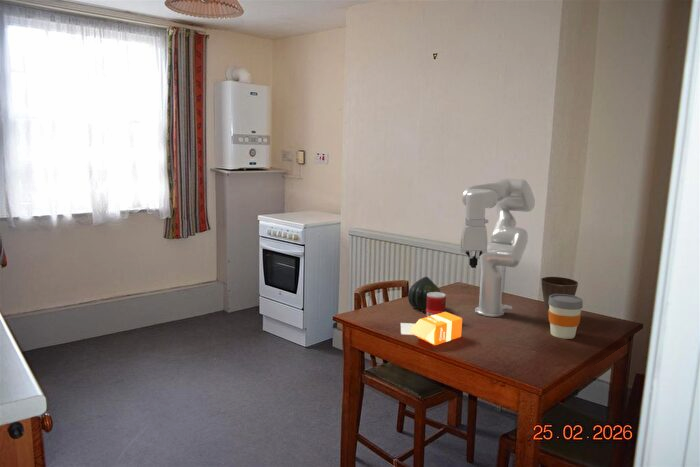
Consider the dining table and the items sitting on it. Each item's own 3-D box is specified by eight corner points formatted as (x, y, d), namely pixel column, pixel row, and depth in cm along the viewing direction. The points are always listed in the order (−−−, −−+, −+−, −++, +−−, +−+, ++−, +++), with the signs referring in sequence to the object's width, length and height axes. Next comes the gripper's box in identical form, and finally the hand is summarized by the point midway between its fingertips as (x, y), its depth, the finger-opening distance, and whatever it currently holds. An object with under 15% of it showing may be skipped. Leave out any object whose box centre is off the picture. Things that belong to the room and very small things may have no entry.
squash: (417, 303, 224) (435, 276, 227) (397, 296, 236) (414, 270, 240) (435, 321, 230) (453, 293, 234) (415, 313, 243) (432, 287, 246)
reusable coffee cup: (538, 331, 207) (541, 295, 205) (562, 327, 212) (565, 292, 210) (562, 342, 196) (566, 304, 193) (587, 337, 201) (590, 300, 198)
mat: (441, 325, 213) (441, 324, 213) (444, 336, 200) (445, 335, 200) (400, 323, 214) (400, 323, 214) (401, 334, 201) (401, 333, 201)
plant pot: (579, 315, 228) (582, 280, 226) (568, 323, 217) (572, 287, 214) (545, 308, 238) (548, 275, 235) (533, 316, 226) (536, 281, 224)
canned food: (444, 322, 216) (445, 297, 214) (425, 321, 218) (426, 296, 216) (445, 317, 224) (446, 292, 222) (426, 315, 225) (427, 291, 223)
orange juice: (461, 337, 199) (424, 349, 187) (444, 329, 206) (407, 341, 194) (462, 317, 198) (425, 329, 186) (445, 311, 204) (408, 321, 192)
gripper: (491, 221, 208) (489, 264, 212) (454, 221, 209) (453, 264, 212) (496, 224, 201) (494, 269, 205) (457, 224, 202) (456, 269, 205)
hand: (473, 267), depth 209 cm, fingers closed
